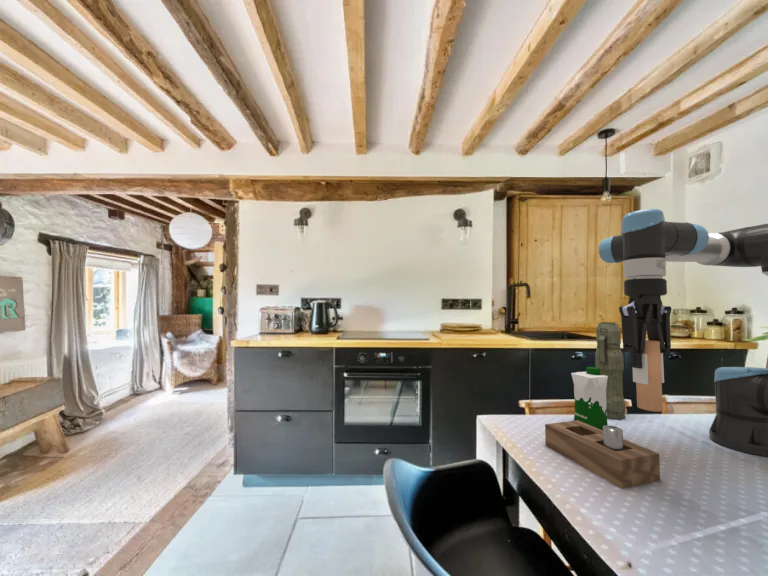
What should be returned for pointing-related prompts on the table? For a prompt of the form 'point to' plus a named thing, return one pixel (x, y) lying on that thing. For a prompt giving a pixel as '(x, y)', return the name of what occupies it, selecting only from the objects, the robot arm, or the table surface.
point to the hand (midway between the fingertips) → (648, 381)
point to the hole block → (603, 454)
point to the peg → (651, 380)
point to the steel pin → (613, 437)
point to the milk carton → (590, 397)
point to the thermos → (611, 367)
